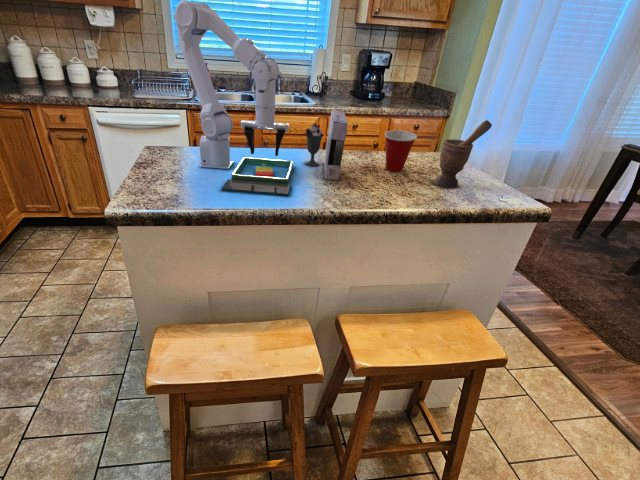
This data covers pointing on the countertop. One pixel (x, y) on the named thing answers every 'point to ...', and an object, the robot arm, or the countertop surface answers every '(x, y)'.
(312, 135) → the sundae
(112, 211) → the countertop surface
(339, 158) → the cake pan box
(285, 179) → the baking frame
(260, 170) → the popsicle
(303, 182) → the countertop surface
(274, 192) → the slate board
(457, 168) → the mortar and pestle
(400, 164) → the plastic cup
